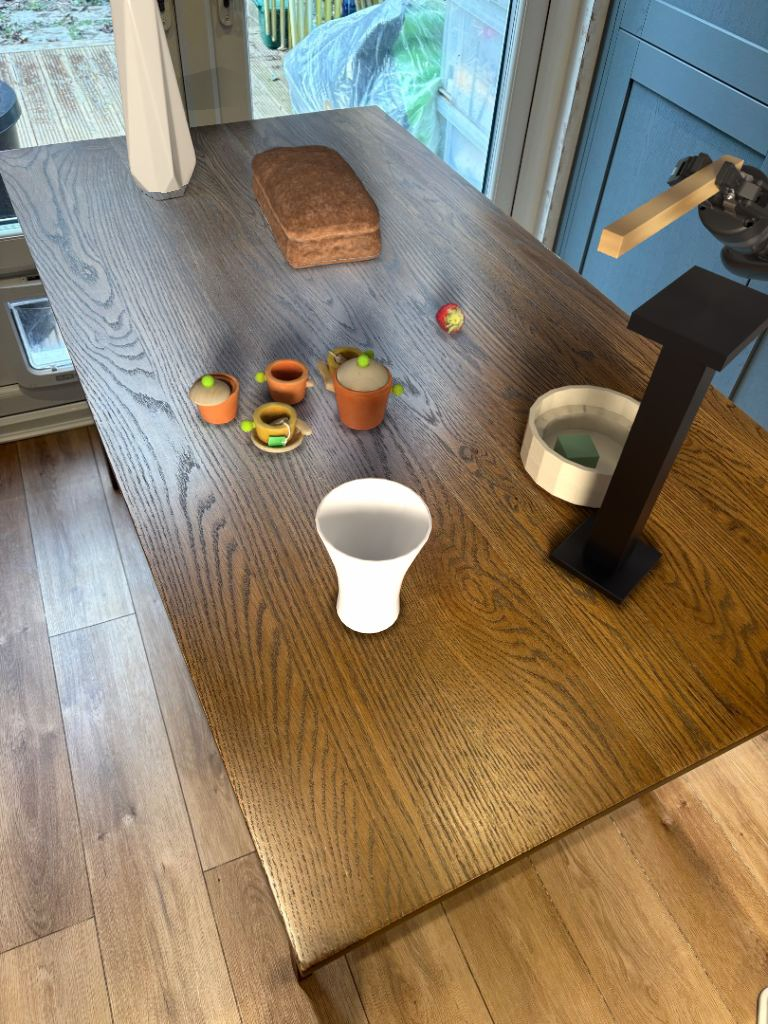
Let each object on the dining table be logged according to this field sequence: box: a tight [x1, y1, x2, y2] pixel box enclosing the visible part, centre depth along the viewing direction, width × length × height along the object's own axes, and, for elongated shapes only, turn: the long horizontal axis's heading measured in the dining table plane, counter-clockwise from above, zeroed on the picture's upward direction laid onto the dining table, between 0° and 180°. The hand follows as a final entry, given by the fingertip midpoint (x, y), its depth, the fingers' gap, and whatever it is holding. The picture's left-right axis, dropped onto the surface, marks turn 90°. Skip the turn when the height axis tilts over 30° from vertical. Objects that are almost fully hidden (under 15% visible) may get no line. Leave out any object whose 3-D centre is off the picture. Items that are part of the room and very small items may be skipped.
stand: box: [548, 264, 768, 606], centre depth 71 cm, size 11×9×32 cm
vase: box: [109, 0, 197, 193], centre depth 127 cm, size 12×12×33 cm
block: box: [554, 434, 600, 469], centre depth 91 cm, size 4×4×4 cm
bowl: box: [519, 384, 641, 509], centre depth 92 cm, size 16×16×6 cm
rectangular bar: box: [596, 154, 745, 259], centre depth 70 cm, size 24×2×2 cm, turn 137°
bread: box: [250, 144, 382, 269], centre depth 129 cm, size 17×29×11 cm, turn 19°
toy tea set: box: [188, 345, 405, 453], centre depth 94 cm, size 26×16×10 cm, turn 116°
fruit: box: [435, 302, 466, 335], centre depth 111 cm, size 4×6×5 cm
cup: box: [314, 477, 433, 634], centre depth 72 cm, size 10×10×14 cm
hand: (710, 168), depth 72 cm, fingers closed on rectangular bar, 2 cm apart
